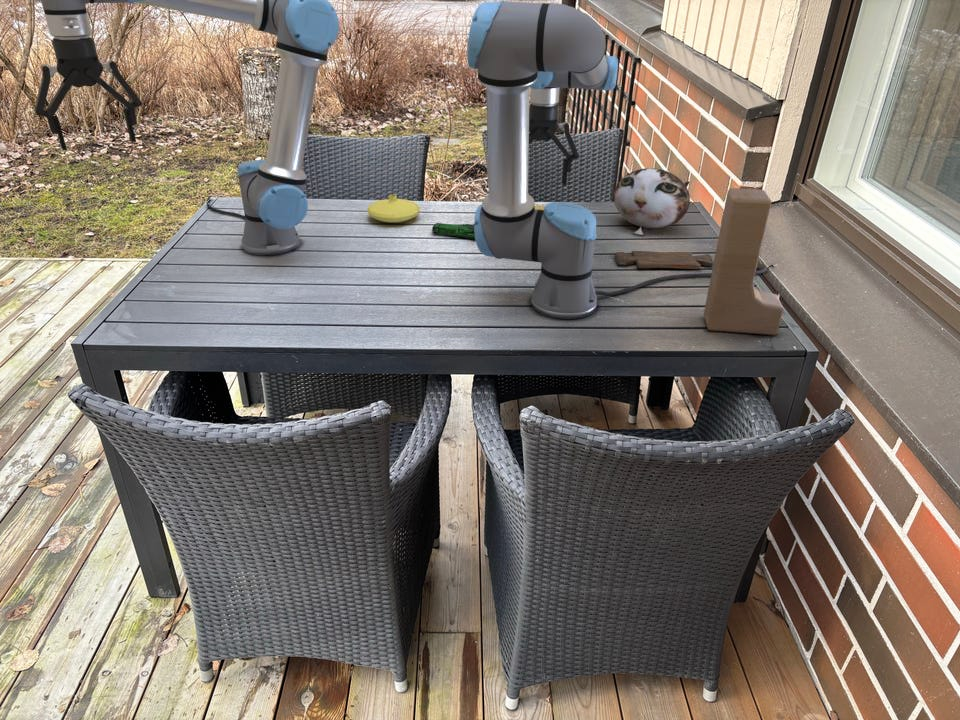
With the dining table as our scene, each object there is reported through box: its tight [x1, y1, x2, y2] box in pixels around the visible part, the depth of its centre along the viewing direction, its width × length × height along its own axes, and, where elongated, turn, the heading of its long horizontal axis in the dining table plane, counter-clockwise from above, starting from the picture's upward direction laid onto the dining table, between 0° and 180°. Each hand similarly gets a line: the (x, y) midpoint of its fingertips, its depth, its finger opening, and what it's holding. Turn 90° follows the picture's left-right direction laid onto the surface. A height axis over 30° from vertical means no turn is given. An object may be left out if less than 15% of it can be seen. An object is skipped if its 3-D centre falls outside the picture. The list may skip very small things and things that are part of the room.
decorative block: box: [703, 187, 785, 336], centre depth 152 cm, size 8×15×30 cm, turn 82°
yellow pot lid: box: [366, 194, 420, 224], centre depth 215 cm, size 16×16×7 cm
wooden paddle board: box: [614, 250, 714, 270], centre depth 190 cm, size 26×2×10 cm
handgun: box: [431, 222, 476, 241], centre depth 208 cm, size 16×3×15 cm
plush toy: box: [613, 167, 691, 236], centre depth 209 cm, size 22×18×20 cm
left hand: (99, 144), depth 154 cm, fingers open, 13 cm apart
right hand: (539, 184), depth 195 cm, fingers open, 13 cm apart
